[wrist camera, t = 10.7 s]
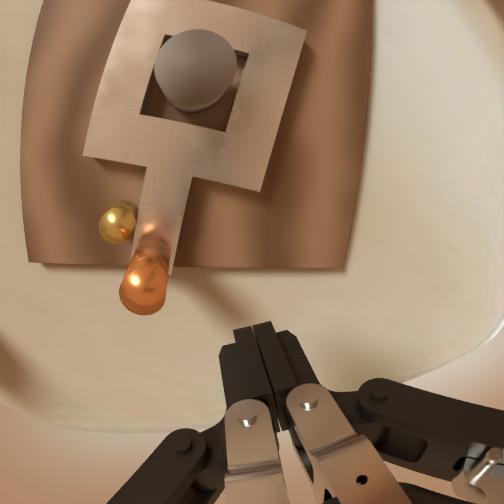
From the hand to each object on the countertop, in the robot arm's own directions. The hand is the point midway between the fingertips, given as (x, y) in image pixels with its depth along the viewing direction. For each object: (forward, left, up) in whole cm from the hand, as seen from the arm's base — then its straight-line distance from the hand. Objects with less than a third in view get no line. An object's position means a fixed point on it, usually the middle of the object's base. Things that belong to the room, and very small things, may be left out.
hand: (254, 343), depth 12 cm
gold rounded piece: (+7, -2, -12) cm, 14 cm away
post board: (+3, -11, -13) cm, 17 cm away
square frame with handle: (+3, -8, -11) cm, 14 cm away
